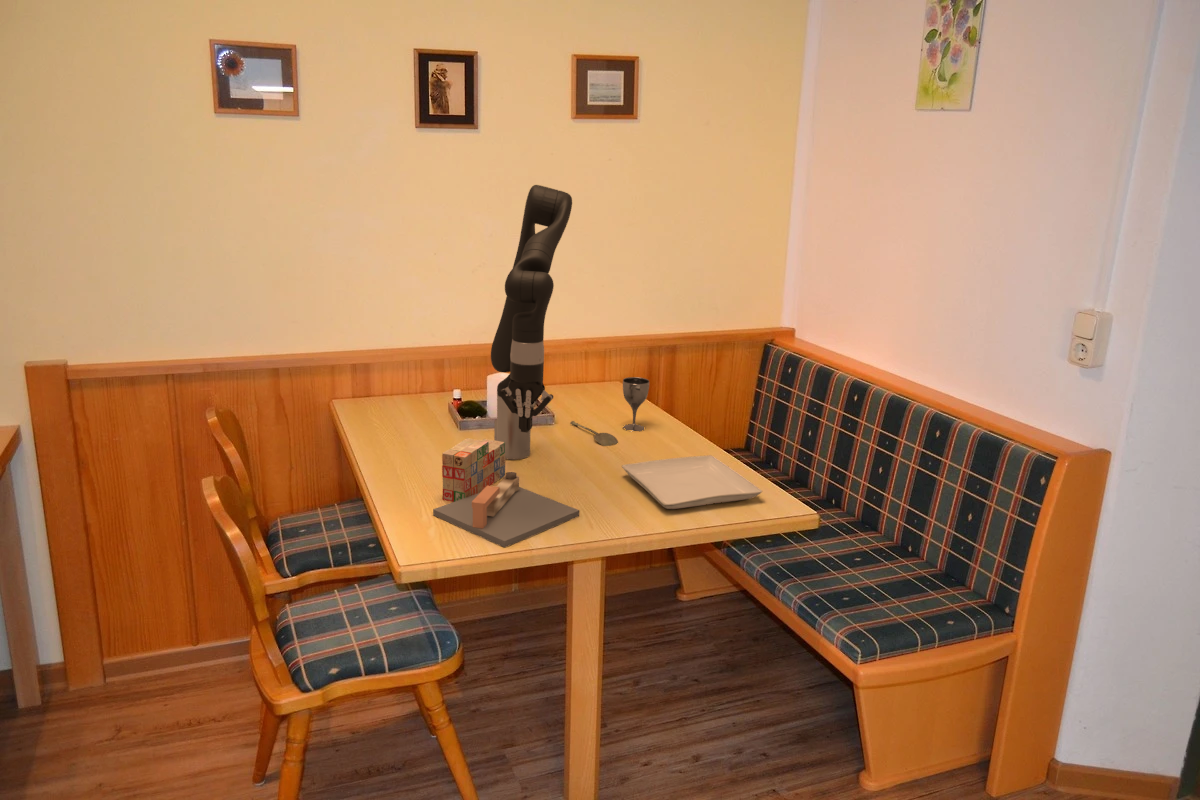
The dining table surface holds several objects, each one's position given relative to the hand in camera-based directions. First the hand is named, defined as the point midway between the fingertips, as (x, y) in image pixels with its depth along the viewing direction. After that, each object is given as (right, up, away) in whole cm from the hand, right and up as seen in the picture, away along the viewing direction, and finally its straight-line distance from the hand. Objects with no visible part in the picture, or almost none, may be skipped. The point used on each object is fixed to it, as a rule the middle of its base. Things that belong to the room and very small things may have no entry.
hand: (525, 431), depth 214 cm
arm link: (-6, -17, +6) cm, 19 cm away
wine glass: (+28, -1, +68) cm, 74 cm away
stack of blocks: (-14, -15, +18) cm, 27 cm away
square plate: (+40, -16, +22) cm, 49 cm away
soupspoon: (+15, -4, +61) cm, 63 cm away
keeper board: (-4, -20, +2) cm, 20 cm away
